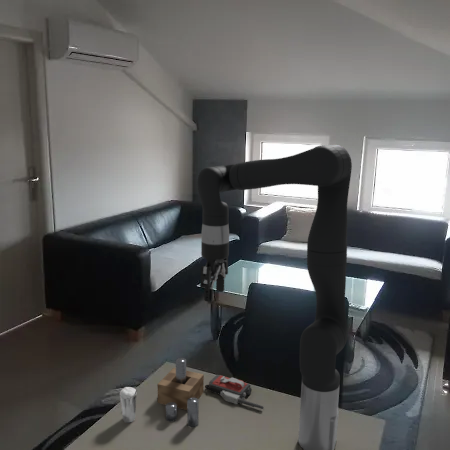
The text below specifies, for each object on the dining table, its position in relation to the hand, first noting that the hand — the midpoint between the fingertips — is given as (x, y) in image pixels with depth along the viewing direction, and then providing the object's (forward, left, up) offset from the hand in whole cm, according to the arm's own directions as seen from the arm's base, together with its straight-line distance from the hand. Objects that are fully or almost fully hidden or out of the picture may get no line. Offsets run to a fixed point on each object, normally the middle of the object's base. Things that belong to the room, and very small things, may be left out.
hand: (214, 296), depth 136 cm
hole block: (+9, +3, -32) cm, 33 cm away
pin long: (+9, +3, -32) cm, 33 cm away
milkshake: (+17, +18, -32) cm, 41 cm away
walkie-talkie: (-6, -5, -33) cm, 34 cm away
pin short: (+7, +13, -32) cm, 35 cm away
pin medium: (+1, +13, -32) cm, 35 cm away
